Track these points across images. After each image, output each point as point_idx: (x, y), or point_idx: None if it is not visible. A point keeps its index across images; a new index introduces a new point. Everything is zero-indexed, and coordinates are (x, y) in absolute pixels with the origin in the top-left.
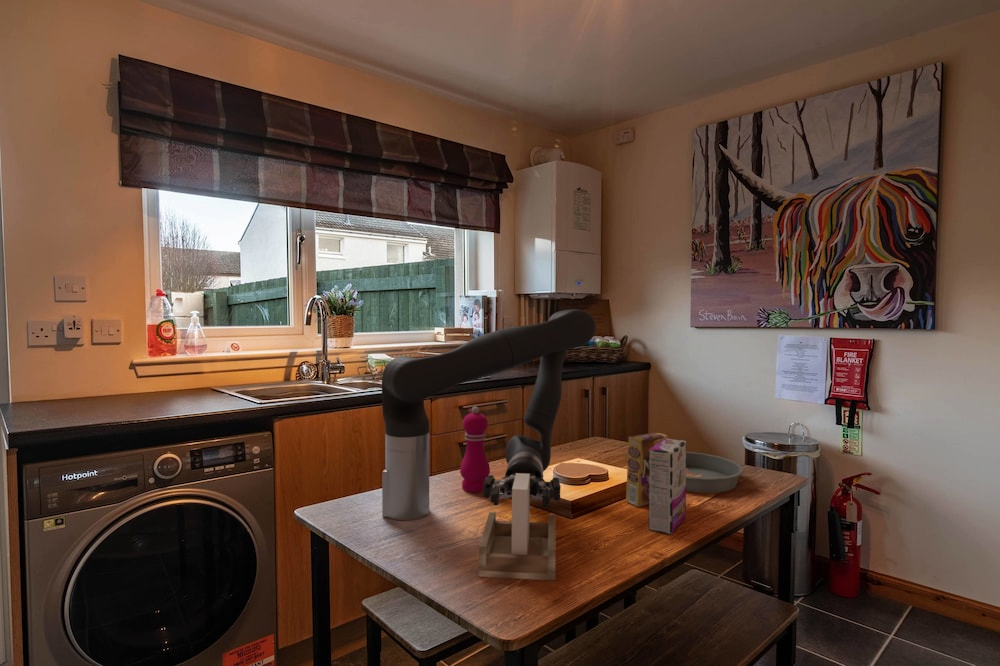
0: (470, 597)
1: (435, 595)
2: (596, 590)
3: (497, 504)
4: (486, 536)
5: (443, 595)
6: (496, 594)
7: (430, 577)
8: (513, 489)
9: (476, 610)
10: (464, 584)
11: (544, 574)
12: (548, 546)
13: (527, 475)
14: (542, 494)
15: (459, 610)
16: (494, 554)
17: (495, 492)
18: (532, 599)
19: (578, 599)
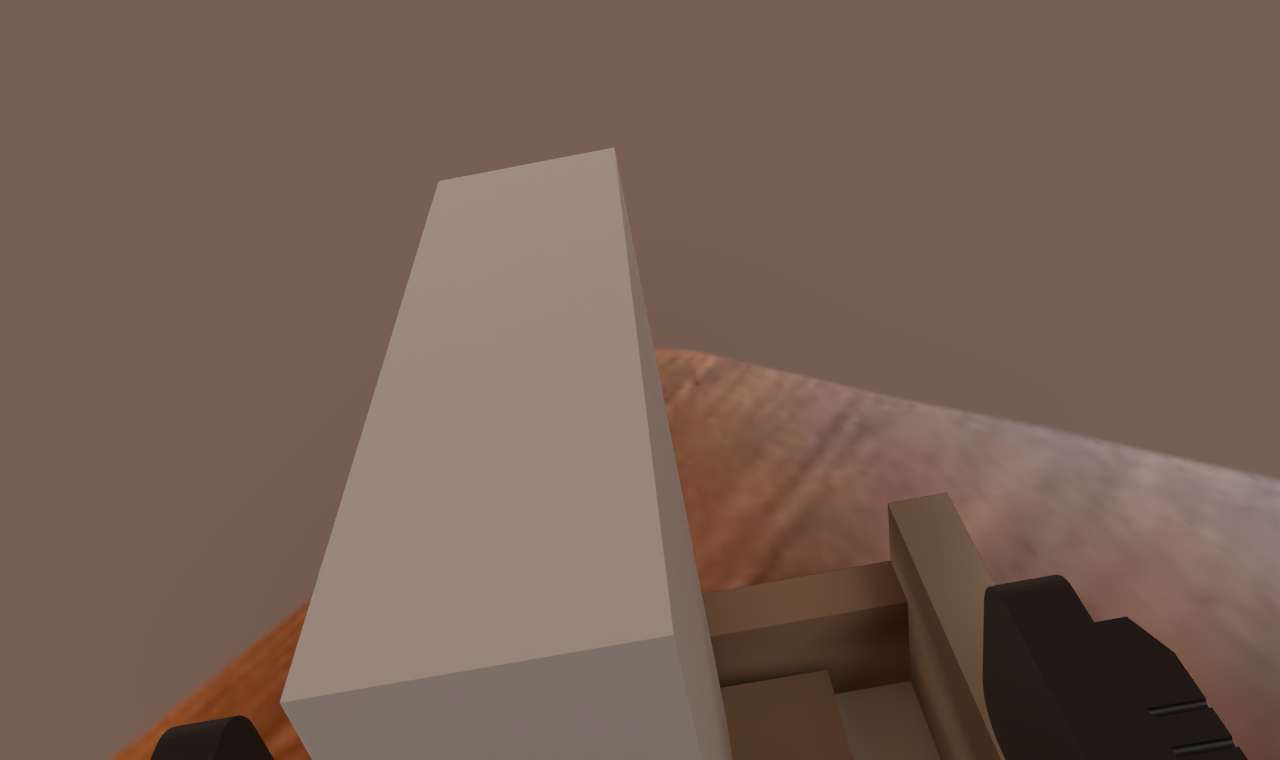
0: (882, 479)
1: (1069, 446)
2: (192, 712)
3: (987, 703)
4: (981, 655)
5: (1029, 456)
6: (759, 533)
7: (1257, 569)
8: (598, 156)
9: (808, 418)
10: (985, 563)
11: None
12: None
13: (367, 565)
14: (216, 745)
15: (882, 400)
16: (839, 601)
17: (1055, 609)
18: None
19: None
